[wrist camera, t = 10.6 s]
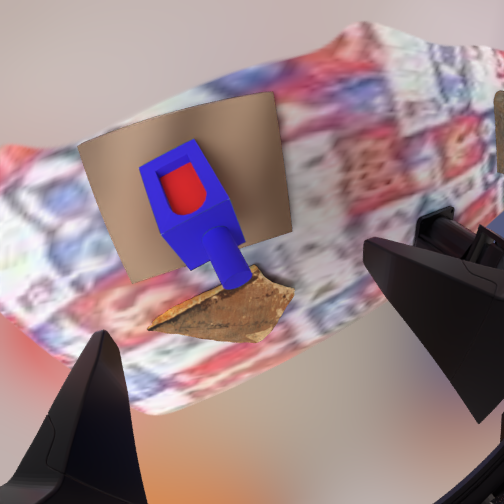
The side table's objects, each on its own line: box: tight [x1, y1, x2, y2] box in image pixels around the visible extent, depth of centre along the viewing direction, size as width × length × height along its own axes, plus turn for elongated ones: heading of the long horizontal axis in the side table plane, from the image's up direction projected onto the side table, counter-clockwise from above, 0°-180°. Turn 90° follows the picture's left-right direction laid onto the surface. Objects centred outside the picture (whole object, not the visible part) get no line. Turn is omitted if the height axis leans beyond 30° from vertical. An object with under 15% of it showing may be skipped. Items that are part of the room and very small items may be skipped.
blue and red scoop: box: [139, 139, 252, 290], centre depth 16 cm, size 4×4×8 cm
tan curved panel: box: [77, 92, 292, 284], centre depth 18 cm, size 12×10×1 cm
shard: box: [147, 265, 295, 343], centre depth 24 cm, size 11×8×2 cm
